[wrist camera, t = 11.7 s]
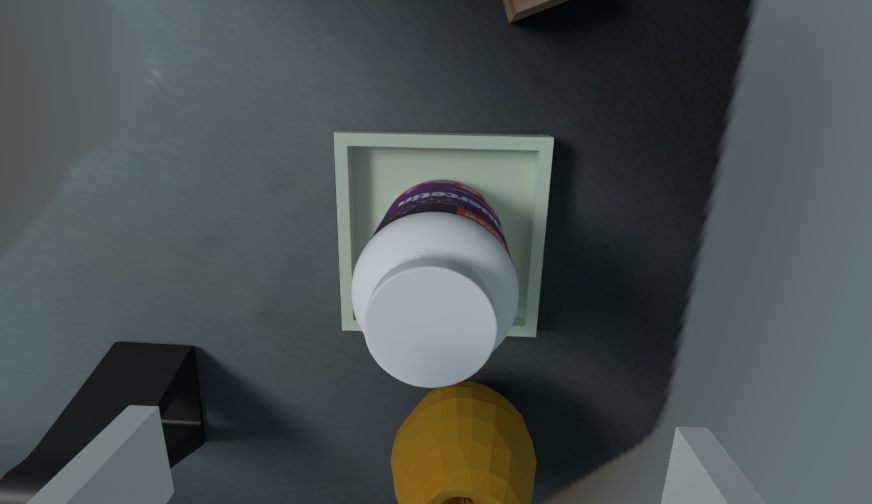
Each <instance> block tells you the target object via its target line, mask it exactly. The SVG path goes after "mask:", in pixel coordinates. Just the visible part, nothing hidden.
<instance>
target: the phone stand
mask: <svg viewBox="0 0 872 504" xmlns="http://www.w3.org/2000/svg"><path fill="white" fill-rule="evenodd" d="M199 393H200V390H199V382H198V374H197V366H196V358H195V350H194V347H193V346H179V345H161V344H143V343H125V342H115V343H114V344H113V346H112V347H111V348H110V350H109V351H108V352H107V354H106V355H105V356H104V358H103V359H102V360H101V362H100V363H99V364H98V366H97V367H96V368H95V370H94V371H93V372H92V374H91V375H90V376H89V378H88V379H87V380H86V382H85V383H84V384H83V386H82V387H81V388H80V389H79V391H78V392H77V393H76V395H75V396H74V397H73V399H72V400H71V401H70V403H69V404H68V405H67V407H66V408H65V409H64V411H63V412H62V413H61V415H60V416H59V417H58V419H57V420H56V421H55V423H54V424H53V425H52V427H51V428H50V429H49V431H48V432H47V433H46V435H45V436H44V437H43V439H42V440H41V441H40V443H39V444H38V445H37V447H36V448H35V449H34V450H33V451H32V453H31V454H30V455H29V456H28V457H27V458H26V459H25V460H23V461H22V462H21V463H20V464H18V465H17V466H15V467H14V468H12V469H11V470H10V471H8V472H7V473H6V474H5V475H4V476H3V477H2V479H1V480H0V504H26V503H27V502H28V501H29V500H30V499H31V498H32V497H33V496H35V495H36V494H37V493H38V492H39V491H40V490H41V489H42V488H43V487H44V486H45V485H46V484H47V483H48V482H49V481H50V480H51V479H52V478H53V477H54V476H55V475H57V474H58V473H59V472H60V471H61V470H62V469H63V468H64V467H65V466H66V465H67V464H68V463H69V462H70V461H71V460H72V459H73V458H74V457H75V456H76V455H78V454H79V453H80V452H81V451H82V450H83V449H84V448H85V447H86V446H87V445H88V444H89V443H90V442H91V441H92V440H93V439H94V438H95V437H96V436H97V435H99V434H100V433H101V432H102V431H103V430H104V429H105V428H106V427H107V426H108V425H109V424H110V423H111V422H112V421H113V420H114V419H115V418H116V417H117V416H118V415H120V414H121V413H122V412H123V411H124V410H125V409H126V408H127V407H128V406H129V405H137V406H159V412H160V417H161V423H162V428H163V434H164V439H165V445H166V450H167V455H168V461H169V466H170V468H171V467H173V466H174V465H176V464H177V463H178V462H180V461H181V460H183V459H184V458H185V457H187V456H188V455H189V454H191V453H192V452H194V451H195V450H196V449H198V448H199V447H201V446H202V445H203V444H204V442H205V430H204V422H203V414H202V406H201V398H200V396H199Z"/></svg>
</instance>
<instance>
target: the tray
mask: <svg viewBox="0 0 872 504" xmlns="http://www.w3.org/2000/svg"><path fill="white" fill-rule="evenodd" d="M553 144H554V137H551V136H549V135H524V134H481V133H438V132H395V131H352V130H340V131H337V132H334V149H335V172H336V196H337V219H338V242H339V265H340V289H341V312H342V330H350V331H362V330H361V328H360V326H359V324H358V322H357V319H356V317H355V313H354V310H353V305H352V294H351V289H352V278H353V273H354V269H355V266H356V263H357V261H358V259H359V257H360V255H361V253H362V251H363V250H364V248H365V246H366V245H367V243H368V242H369V240H370V239H371V237H372V235H373V234H374V232H375V231H376V229H377V227H378V226H379V224H380V223H381V221H382V219H383V218H384V216H385V214H386V213H387V211H388V209H389V208H390V206H391V205H392V203H393V202H394V201H395V200H396V199H397V198H398V197H399V196H400V195H401V194H402V193H403V192H404V191H406V190H407V189H409V188H410V187H412V186H414V185H416V184H418V183H421V182H424V181H428V180H433V179H449V180H455V181H459V182H462V183H465V184H467V185H469V186H471V187H473V188H474V189H476V190H477V191H479V192H480V193H481V194H482V195H483V196H484V197H485V198H486V199H487V200H488V201H489V202H490V203H491V205H492V206H493V208H494V210H495V211H496V213H497V216H498V218H499V221H500V224H501V227H502V230H503V234H504V237H505V240H506V243H507V246H508V249H509V253H510V256H511V259H512V262H513V265H514V268H515V272H516V275H517V280H518V287H519V297H518V306H517V312H516V316H515V319H514V322H513V324H512V326H511V328H510V330H509V332H508V334H507V335H506V336H520V337H536V330H537V319H538V308H539V297H540V286H541V275H542V264H543V253H544V242H545V232H546V221H547V210H548V199H549V188H550V177H551V166H552V155H553Z"/></svg>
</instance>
